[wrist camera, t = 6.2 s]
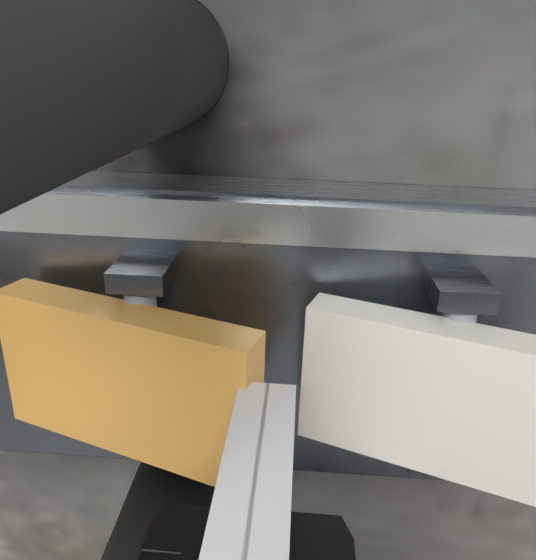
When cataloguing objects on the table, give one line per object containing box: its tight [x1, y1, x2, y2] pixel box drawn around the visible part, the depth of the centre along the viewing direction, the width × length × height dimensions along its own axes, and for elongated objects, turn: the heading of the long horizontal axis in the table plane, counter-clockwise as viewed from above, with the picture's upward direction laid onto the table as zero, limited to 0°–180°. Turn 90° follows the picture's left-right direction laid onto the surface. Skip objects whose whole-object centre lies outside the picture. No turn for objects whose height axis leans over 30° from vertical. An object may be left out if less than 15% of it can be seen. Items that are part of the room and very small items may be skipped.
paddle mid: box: [0, 278, 266, 487], centre depth 15 cm, size 5×8×2 cm, turn 88°
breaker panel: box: [0, 170, 536, 480], centre depth 17 cm, size 10×28×4 cm, turn 88°
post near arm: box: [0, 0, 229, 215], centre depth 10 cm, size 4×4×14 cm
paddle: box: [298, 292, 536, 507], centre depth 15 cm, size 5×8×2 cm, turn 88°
